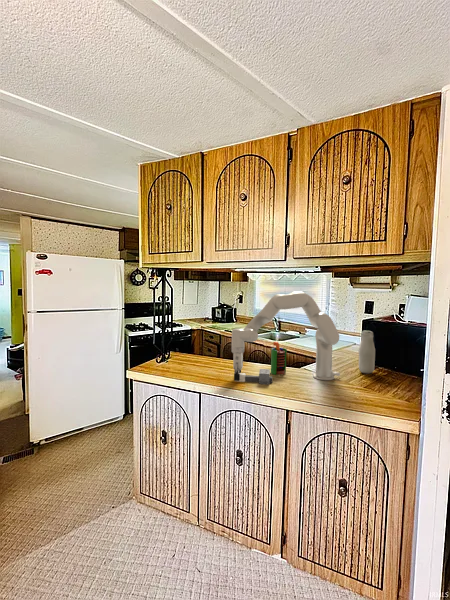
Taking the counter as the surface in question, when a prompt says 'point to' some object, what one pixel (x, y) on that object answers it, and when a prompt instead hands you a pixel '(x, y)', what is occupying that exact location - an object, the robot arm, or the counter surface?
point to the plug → (250, 378)
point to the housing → (264, 376)
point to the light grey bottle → (366, 352)
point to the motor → (278, 359)
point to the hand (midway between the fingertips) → (237, 378)
